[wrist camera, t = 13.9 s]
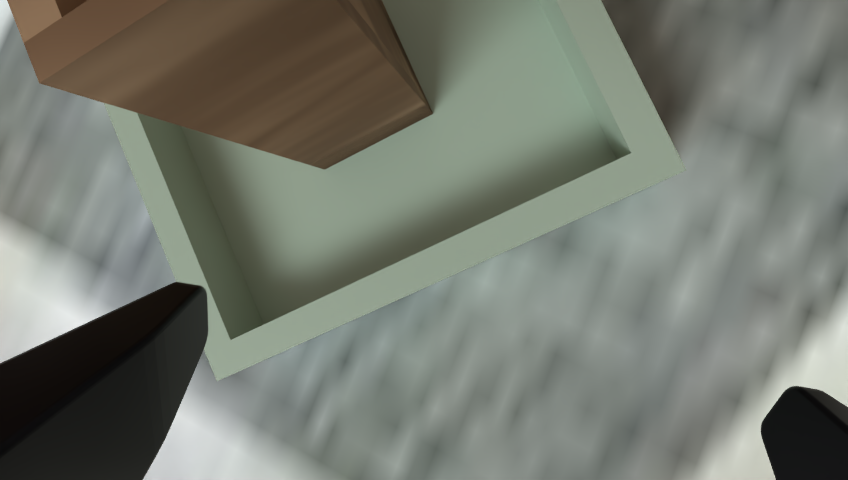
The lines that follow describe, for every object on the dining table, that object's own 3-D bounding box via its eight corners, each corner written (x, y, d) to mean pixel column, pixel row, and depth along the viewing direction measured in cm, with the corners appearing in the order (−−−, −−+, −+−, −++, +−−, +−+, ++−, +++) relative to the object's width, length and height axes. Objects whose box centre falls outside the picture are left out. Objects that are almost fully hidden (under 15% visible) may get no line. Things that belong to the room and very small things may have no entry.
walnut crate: (433, 113, 20) (277, -70, 8) (324, 169, 21) (39, 83, 9) (372, -20, 20) (137, -386, 8) (269, 41, 21) (-73, -206, 9)
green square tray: (659, 181, 19) (686, 170, 16) (264, 359, 23) (216, 381, 19) (460, -220, 21) (445, -311, 17) (118, 7, 24) (49, -30, 21)
